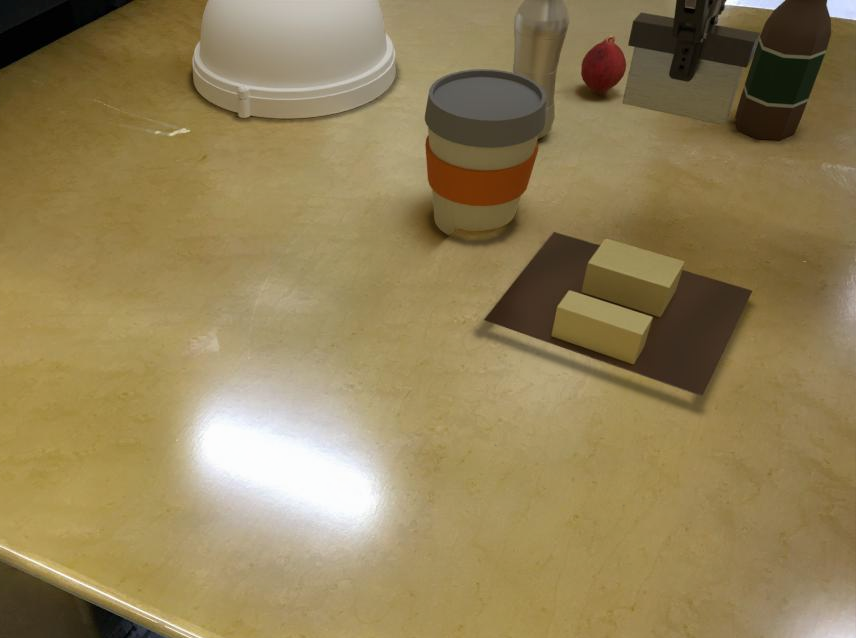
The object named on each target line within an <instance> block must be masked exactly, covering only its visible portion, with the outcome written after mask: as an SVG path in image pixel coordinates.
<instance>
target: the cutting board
mask: <svg viewBox="0 0 856 638" xmlns="http://www.w3.org/2000/svg"><path fill="white" fill-rule="evenodd" d="M600 245H601V244H597V243H593V242H590V241H587V240H583V239H581V238H577V237H573V236H570V235H566V234H563V233H560V232H555V231H553V233H551V234H550V235H549V237H548V238H547V240H546V241H545V242H544V243H543V244H542V246H541V247H540V249H538V251H537V252H536V254H535V255H534V256H533V257H532V259H531V260H530V261H529V262H528V264H526V266H525V267H524V269H523V270H522V271H521V273H519V275H518V276H517V277H516V278H515V280H514V281H513V282H512V284H511V285H510V286H509V287H508V289H507V290H506V291H505V293H503V295H502V296H501V298H500V299H499V300H498V301H497V302H496V304H495V305H494V306H493V308H492V309H491V310H490V312H489V313H488V314H487V315H486V316H485V318H484V319H483V321H485V322H488V323H491V324H494V325H496V326H498V327H499V326H500V327H502V328H505V329H508V330H511V331H514V332H517V333H519V334H523V335H525V336H528V337H531V338H534V339H537V340H539V341H543V342H544V343H547V344H551V345H553V346H556V347H559V348H562V349H565V350H568V351H571V352H573V353H577V354H579V355H582V356H585V357H587V358H590V359H594V360H597V361H599V362H602V363H606V364H608V365H611V366H614V367H617V368H620V369H623V370H625V371H628V372H631V373H634V374H637V375H640V376H641V377H642V376H643V377H645V378H649V379H651V380H654V381H657V382H660V383H662V384H665V385H668V386H671V387H674V388H677V389H679V390H682V391H685V392H688V393H691V394H694V395H696V396H700V397H703V396H704V394H705V391H706V389H707V388H708V385H709V383H710V381H711V379H712V377H713V375H714V372H715V371H716V368H717V366H718V364H719V362H720V360H721V358H722V356H723V354H724V352H725V350H726V348H727V346H728V343H729V342H730V339H731V337H732V335H733V334H734V331H735V329H736V326H737V325H738V323H739V320H740V319H741V317H742V314H743V312H744V310H745V309H746V306H747V304H748V302H749V299H750V297H751V295H752V293H753V290H752V289H750V288H746V287H742V286H739V285H735V284H732V283H729V282H725V281H722V280H718V279H716V278H711V277H708V276H705V275H701V274H698V273H695V272H691V271H689V270H688V271H687V270H685V269H683V270H682V273H681V276H680V279H679V282H678V286H677V289H676V291H675V293H674V295H673V297H672V298H671V300H670V302H669V304H668V305H667V307H666V309H665V310H664V312H663V314H662V316H661V317H658V316H654V315H651V314H648V313H645V312H642V311H639V310H636V309H633V308H629V307H626V306H623V305H620V304H617V303H614V302H611V301H608V300H605V299H601V298H598V297H595V296H592V295H589V294H586V293H583V292H582V287H583V283H584V278H585V274H586V269H587V265H588V262H589V261H590V259H591V258H592V256H593V255H594V254H595V252H596V251H597V249H598V248H599V247H600ZM569 290H570V291H573V292H577V293H580V294H583V295H586V296H589V297H592V298H595V299H598V300H601V301H605V302H608V303H611V304H614V305H617V306H620V307H623V308H626V309H629V310H633V311H636V312H639V313H642V314H645V315H648V316H651V317H653V319H652V322H651V326H650V329H649V332H648V336H647V339H646V342H645V346H644V348H643V350H642V351H641V353H640V355H639V357H638V358H637V360H636V362H635V363H634V364H630V363H627V362H624V361H621V360H619V359H616V358H613V357H610V356H607V355H604V354H601V353H598V352H595V351H593V350H590V349H587V348H584V347H581V346H578V345H575V344H572V343H569V342H567V341H564V340H561V339H558V338H555V337H552V336H551V335H552V330H553V325H554V320H555V315H556V310H557V306H558V305H559V304H560V302H561V301H562V299H563V298H564V297H565V295H566V294H567V292H568V291H569Z"/></svg>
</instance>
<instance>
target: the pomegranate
mask: <svg viewBox="0 0 856 638" xmlns="http://www.w3.org/2000/svg"><path fill="white" fill-rule="evenodd" d="M615 41H616V37H615V36H614V35H613V34H610V35H607V36H606V37H604V39H603V41H601V42H599V43H597V44H595V45H594V46H593V47H592V48H590V49H589V50H588V51H587V52H586V54H585V55H584V57H583V59H582V62H581V71H580V75H581V79H582V81H583V83H584V84H585V85H586V86H587V88H588V89H590V90H591V91H592V92H593V93H595V94H597V95H601V94H603V93H605V92H607V91H608V90H610V89H612V88H614V87H616V86H617V85H618V84H619V83H620V81H622V79H623V78H624V75H625V73H626V69H627V60H626V57H625V54H624V52H623V50H622V48H621V47H620V46H619V45H617V44H616V43H615Z"/></svg>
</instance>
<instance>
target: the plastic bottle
mask: <svg viewBox="0 0 856 638" xmlns="http://www.w3.org/2000/svg"><path fill="white" fill-rule="evenodd" d="M513 21H514V22H513V26H514V28H513V33H514V35H513V37H514V38H513V39H514V42H513V43H514V50H513V51H514V52H513V65H512V73H516V74H519V75H522V76H525V77H527V78H530V79H532V80H533V81H535V82H536V83H538V84H539V85H540V86H541V87H542V88H543V89H544V91H545V93H546V115H545V126H544V128H543V130H542V131H541V132H540V134H539V136H538V139H542V138H544V137H545V136H546V135H547V134H548V133H549V132H550V131H551V129H552V127H553V124H554V121H555V113H556V112H555V111H556V109H555V108H556V106H555V104H556V103H555V92H556V91H555V90H556V79H557V77H556V76H557V71H558V66H559V63H560V57H561V53H562V49H563V46H564V43H565V40H566V36H567V34H568V33H567V32H568V30H569V25H570V13H569V11H568V8H567V5H566V2H565V1H564V0H523V1H522V3H521V4H520V5H519V7H518V8H517V10H516V12H515V15H514V19H513ZM538 139H537V140H538Z"/></svg>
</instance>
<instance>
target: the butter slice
mask: <svg viewBox="0 0 856 638" xmlns="http://www.w3.org/2000/svg"><path fill="white" fill-rule="evenodd" d="M652 319H653V317H651V316H648V315H645V314H642V313H639V312H636V311H633V310H629V309H626V308H623V307H620V306H617V305H614V304H611V303H608V302H605V301H601V300H598V299H595V298H592V297H589V296H586V295H583V294H580V293H577V292H573V291H570V290H569V291H568V292H567V294H566V295H565V297H564V298H563V299H562V301H561V302H560V304H559V305H558V306H557V310H556V315H555V320H554V325H553V330H552V335H551V336H552V337H555V338H558V339H561V340H564V341H567V342H569V343H572V344H575V345H578V346H581V347H584V348H587V349H590V350H593V351H595V352H598V353H601V354H604V355H607V356H610V357H613V358H616V359H619V360H621V361H624V362H627V363H630V364H634V363H635V362H636V360H637V358H638V357H639V355H640V353H641V351H642V350H643V348H644V346H645V342H646V339H647V336H648V332H649V329H650V326H651V322H652Z"/></svg>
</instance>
